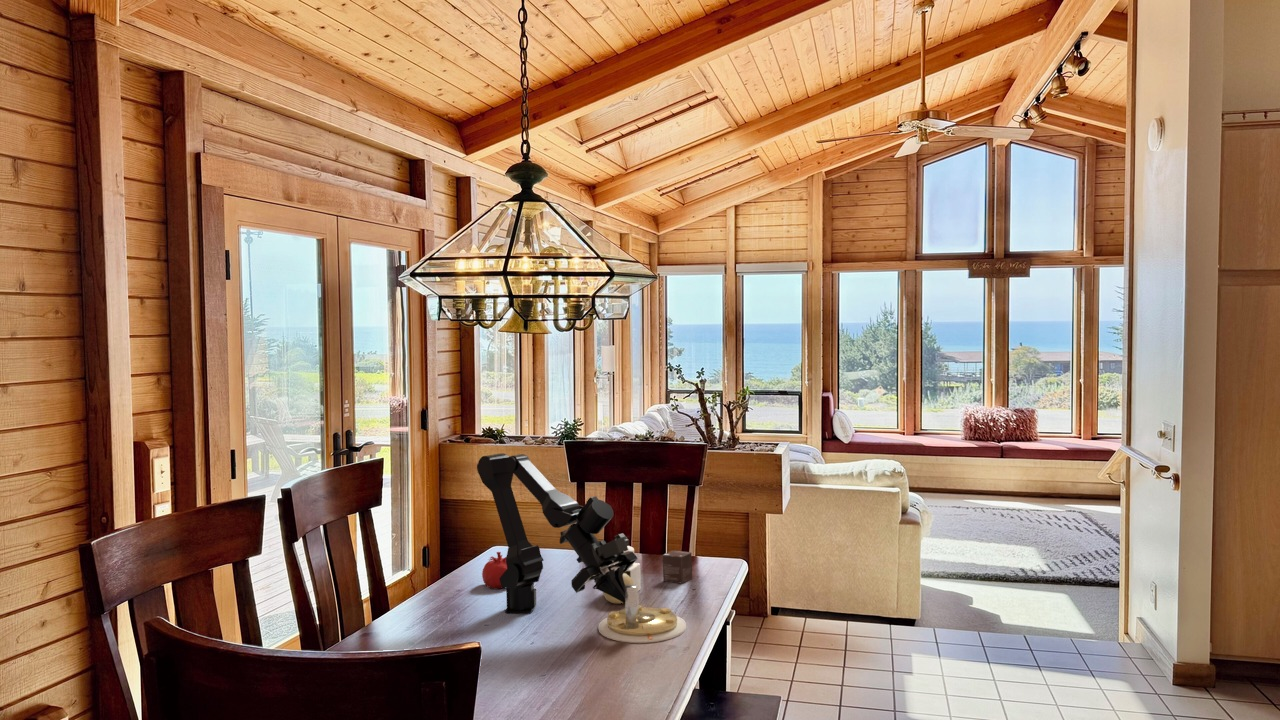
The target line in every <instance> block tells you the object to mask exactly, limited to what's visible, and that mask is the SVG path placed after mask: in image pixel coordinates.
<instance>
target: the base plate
mask: <svg viewBox="0 0 1280 720" xmlns="http://www.w3.org/2000/svg"><path fill="white" fill-rule="evenodd" d="M676 616H677V615H676ZM607 618H608V617H605V618H603V620H601V621H600V622H599V624H598V633H600V634H601V636H603V637H605V638H607V639H609V640H613V641H617V642H621V643H631V644H648V643H657V642H664V641H668V640H671V639H674V638H676V637H679V636H680V635H682V634H684V633H685V631H686V629H687V623H686V621H685V620H684V619H683V618H682V617H679V616H677V626H676V627H675V628H674V629H672V630H670V631H668V632H665V633H661V634H655V635H645V636H635V635H625V634H620V633H617V632H614V631H612V630H610V629H609V628H608V626H607Z"/></svg>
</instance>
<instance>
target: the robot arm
mask: <svg viewBox="0 0 1280 720" xmlns="http://www.w3.org/2000/svg"><path fill="white" fill-rule="evenodd" d="M476 470H477V473H478V476H479V478H480V480H481V482H482V484H483V485H484V486H485V487H486V488H487V489H489V491H490V492H491V494H492V498H493V501H494V503H495V508H496V511H497V514H498V518H499V520H500V523H501V527H502V530H503V534H504V537H505V541H506V544H507V553H506V556H505V557H506V564H507V570H506V571H505V572H504V573H503V575H502V576H501V577H500V578H499V580H500V584H501V587H504V588H505V589H506V590H505V591H506V608H505V610H504V613H505V614H507V613H509V614H510V613H511V614H513V613H515V614H521V613H522V614H531V613H532V612H533V611H534V609H535V608H536V606H537V589H536V588H535V583H538V582H539V581H540V577H541V574H542V571H543V569H544V563H543V561H544V558H543V557H542V554H541V550H540V547H539V545H538V544H536V545H533V544H532V543H531V542H530V541H529V540H528V537H527V533H526V530H525V527H524V523H523V521H522V517H521V514H520V511H519V508H518V505H517V502H516V498H515V493H514V491H513V488H512V483H513V477H514V476H515V477H516V478H517V479H518V480H519V481H520V482H521V483H522V485H524V487H525V488H526V489H527V490H528V491H529V492H530V493H531V495H532V496H533V497H534V498H535V499H536V500H537V501H538V503H539V505H540V506H541V511H542V514H543V516H544V518H545V519H546V521H547V522H548V524H549V525H550V526H551V527H552V528H556V529H557V528H558V529H559V528H563V527H566V526H568V528H567V529H566V530H562V531H560V537H559V544H560V545H561V544H565V543H569V545H570V546H571V548H572V549H573V551H574V552H575V554H577V556H578V557H577V558H576V561H577V563H579V564H580V563H583V564H584V567H582V568H581V569H580V570H579V571H578V573H576V575H575V576H574V577H573V578H572V579H571V581H570V582H571V588H572V590H574V593H576V594H577V593H581V592H582V591H584V590H585V589H586V583H588V582H591V581H593V582H594V583H595V584H594V585H593V586H592V589H593V590H597V591H600V592H602V593H603V592H604V593H606V594H608V595H610V596H612V597H614V598H616V599H618V600H620V601H621V602H623V603H622V604H625V584H624V580H623V574H624V573H625V572H626V571H627V570H628V569H629V568H630V567H631V566H632V564H633V563H636V561H638V560H639V559H638V557H637V556H636V554H635V552H634V553H633V552H630V551H628V552H625V553H622V554H620V555H619V556H618V557H617V555H616V554H619V553H621V552H622V551H627V550H628V547H627V546H630V540H629V538H628V537H627V536H626V535H625V534H624V533H623V532H622V533H618V534H616V535H614V536H613V540H611V541H609V542H606V541H605V540H603V539H601V540H599V539H598V538H597V537H596V535H597V534H599V533H600V532H601V531H603V529H604V528H605V527H606V526H607V524H608V523H609V522H610V521H611V520H612V519H613V517H614V510H613V508H612V506H611V505H610V504H608V503H607V502H606V501H604V500H601V499H599V498H598V497H597V496H596V495H595V496H590V497H588V499H587V500H586V503H585V504H584V505H580V504H579V503H578V501H576V500H575V499H574V498H572V496H570V495H568V494H565V493H563V492H561V491H559V490H558V489H556V487H554V486H553V484H552V483H551V482H550V481H549V480H548V479H547V478H546V477H545V475H543V474H542V473H541V471H540V470H539V469H538V468H537V467H536V466H535V465H534V464H533V463H532V462H531V459H530V458H529V456H528V455H527V454H525V453H524V454H523V453H520V454H514V455H510V456H509V455H507V454H506V453H495V454H489V455H482V456H481V457H480V458H479V460H478V463H477V464H476ZM616 557H617V558H616ZM615 558H616V559H615ZM614 559H615V561H614V562H613V560H614Z"/></svg>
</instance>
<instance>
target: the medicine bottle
mask: <svg viewBox="0 0 1280 720" xmlns="http://www.w3.org/2000/svg"><path fill="white" fill-rule="evenodd" d="M627 547H628V550H627V551H622V552H621V553H619V554H616V555H617V557H618V556H619V555H620V554H622V553H625V552H628V551H630V552H633V553H634V554H635V548H634V547H632V546H630V545H628V546H627ZM617 557H616V558H617ZM616 558H615V559H616ZM615 559H614V560H613V562H614V561H615ZM625 574H627V575H628V576H630V577H631V579H632V581H633V583H634V585H638V592H639V591H641V589H642V587H641V586H642V585H641V584H642V583H641V581H642V579H641V563H639V562H634V563H633V564H632V566H631V567H630V568H629V569H628V570H627V571H626V572H625Z"/></svg>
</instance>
